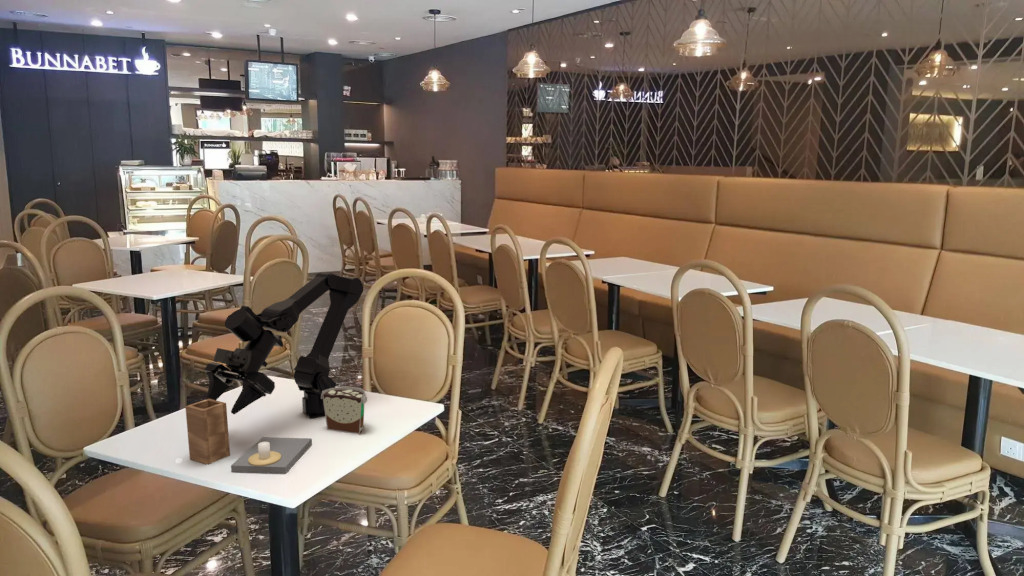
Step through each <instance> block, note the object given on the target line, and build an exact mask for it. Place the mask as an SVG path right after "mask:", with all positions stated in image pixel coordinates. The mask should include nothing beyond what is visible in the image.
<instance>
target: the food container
mask: <svg viewBox="0 0 1024 576" xmlns="http://www.w3.org/2000/svg"><path fill="white" fill-rule="evenodd" d="M321 399H323V403H324V410H325V415H324V416H325V422H326V429H327V431H332V432H339V433H345V434H347V433H348V434H352V435H353V434H354V435H361V434H362V433H363V432H364V421H365V405H366V403H367V402H368V397H367V393H366V392H365V390H364V389H363V388H361V387H357V386H337V387H335V388H330V389H327V390H324V391H322V394H321Z"/></svg>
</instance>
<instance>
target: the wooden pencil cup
mask: <svg viewBox="0 0 1024 576" xmlns="http://www.w3.org/2000/svg"><path fill="white" fill-rule="evenodd" d="M185 417H186V428H187V440H188V453H189V460H192V461H194V462H197V463H201V464H204V465H206V464H208V465H210V464H212V462H213V463H215V462H217V461H219V460H223V459H224V458H227V457H229V456H231V449H230V437H229V424H228V423H229V422H228V410H227V403H226V402H224V401H220V400H212V399H206V398H205V399H204V400H201V401H197V402H194V403H192V404H188V405H185Z"/></svg>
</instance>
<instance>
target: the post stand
mask: <svg viewBox="0 0 1024 576" xmlns="http://www.w3.org/2000/svg"><path fill="white" fill-rule="evenodd" d="M312 440H313V439H312V438H311V437H310V438H307V437H305V438H304V437H275V436H273V437H270V436H269V437H268V436H262V437H261V438H259V440H258V441H257V442H255V443H254V444H253V445H252V446H251V447H250V448H248V450H246V451H245V452H243V454H241V456H239V458H238V459H236V460H235V461H234V462H233V463H232V464H231V465H230V470H231V473H248V474H249V473H250V474H252V473H253V474H277V475H278V474H279V475H280V474H282V475H285V474H287V473H288V471H290V469H292V467H293V466H294V465H295V464H296V463H297V462H298V461H299V459H300V458H302V456H303V455H304V454H305V453H306V452H307V451H308V449H309V448H310V447H312V445H313V441H312Z"/></svg>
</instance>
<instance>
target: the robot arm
mask: <svg viewBox="0 0 1024 576" xmlns="http://www.w3.org/2000/svg"><path fill="white" fill-rule="evenodd" d="M362 282H363V281H362V280H361V279H360V278H358V277H352V276H351V277H350V276H342V275H337V274H334V273H332V272H323V271H321V272H317V273H316V275H315V276H314V277H313V278H312V279H311V280H309V281H308V282H307V283H305V284H304V285H303V286H301V288H299V289H298V290H296V291H295V292H293V294H291V295H290V296H289V297H287V298H286V299H284V300H281V301H277V302H274V303H273V304H270V305H269V306H267V307H265V308H263V309H262V311H261V312H260V313H259V312H258V313H255V312H254V311H253V309H251V307H249V305H242V306H241V307H240V308H239V309H237V310H234V311H233V312H231V313H230V314H229V315H227V317H226V318H225V322H224V327H225V328H226V329H227V330H228V331H229V332H230V333H232V334H233V335H234V336H235V337H236V338H238V340H239V341H242V342H243V343H244V342H245V343H246V344H245V346H244V347H243V348H241V347H240V348H238V347H236V348H235V349H234V350H230V349H229V350H228V349H224V348H219V347H217V348H216V351H215V353H214V357H213V359H212V361H213V362H208V363H207V365H206V366H205V367H204V369H203V371H204V372H205V375H206V377H207V378H208V382H209V384H208V389H207V394H206V398H205V400H206V399H212V400H216V401H218V399H219V398H221V396H222V395H223V394H224V393H226V391H227V390H228V389H229V388H230V385H229V384H232V383H233V381H236V382H238V383H239V382H240V383H241V385H242V388H241V391H240V393H239V395H238V396H237V398H236V401H235V402H234V404H233V406H232V408H231V410H230V413H231V414H233V415H236V414H237V413H239V412H240V411H242V410H243V409H245V408H246V407H247V406H250V405H251V404H253V403H255V402H256V401H257V400H259V399H260V398H265V397H267V395H272V394H273V392H274V390H275V388H276V384H275V383H276V382H275V381H274V380H273V379H271V378H270V377H268V375H266V374H265V373H264V372H261V371H260V370H261V368H262V367H263V368H266V367H267V365H268V363H267V361H266V360H267V359H268V357H269V356H270V354H271V352H272V351H273V349H274V347H280V348H283V347H284V342H283V340H282V335H280V334H279V335H278V334H275V333H274V332H280V333H287V332H289V331H290V330H291V329H292V328H293V327H294V326H295V324H296V323H297V322H298V321H299V318H300V316H301V313H303V312H304V311H305V310H306V309H307V308H308V307H309V306H311V305H312V304H313V303H315V302H316V301H317V300H318V299H319V298H321V297H322V296H323V295H324V294H326V293H327V292H328V291H329V293H328V297H329V301H330V304H329V307H328V308H327V309H328V310H327V312H326V314H325V316H324V319H323V322H322V323H321V327H320V328H319V331H318V333H317V336H316V338H315V341H314V343H313V346H312V348H311V350H310V352H309V353H308V354H307V355H306V356H304V355H300V356H299V358H298V359H297V363H296V365H295V367H294V368H293V371H294V373H293V380H294V383H295V384H296V385H297V388H298V390H299V391H300V392H303V396H302V397H301V399H302V400H301V401H302V402H301V403H302V413H304V415H306V416H307V417H308V418H309V419H313V418H319V417H323V416H325V410H324V403H323V399H321V394H322V391H324V390H327V389H330V388H336V385H337V383H336V381H334V380H333V379H332V378H331V377H330V376H329V374H330V371H331V368H330V362H329V361H330V360H329V358H330V356H331V354H332V351H333V348H334V346H335V343H336V342H337V341H336V340H337V338H338V335H339V334H340V331H341V328H342V326H343V325H344V321H345V319H346V316H347V314H348V312H349V311H350V309H351V308H353V307H354V306H355V305H356V304H358V302H359V300H360V298H361V297H362V294H363V293H364V285H363V283H362ZM273 331H274V332H273ZM224 364H225V365H224ZM259 371H260V372H259Z"/></svg>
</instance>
